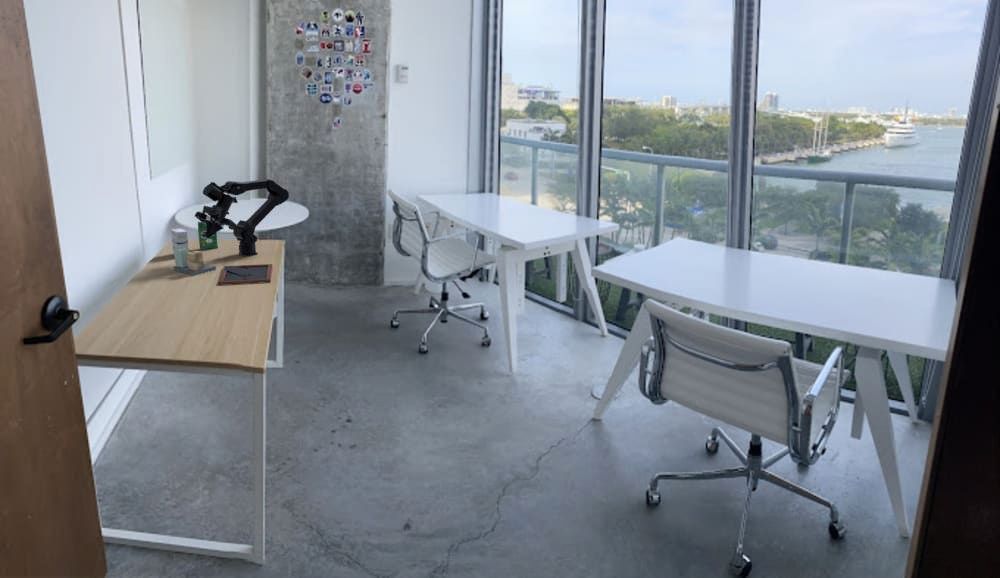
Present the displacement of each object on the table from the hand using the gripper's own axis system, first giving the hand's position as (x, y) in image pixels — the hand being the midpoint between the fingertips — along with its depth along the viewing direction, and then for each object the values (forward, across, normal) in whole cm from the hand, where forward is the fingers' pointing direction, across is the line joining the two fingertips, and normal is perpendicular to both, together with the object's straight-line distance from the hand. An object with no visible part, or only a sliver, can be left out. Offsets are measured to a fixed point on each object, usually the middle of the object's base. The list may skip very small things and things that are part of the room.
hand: (207, 237), depth 322 cm
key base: (+16, +3, -1) cm, 16 cm away
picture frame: (+12, +28, -1) cm, 31 cm away
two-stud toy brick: (+16, -2, -3) cm, 16 cm away
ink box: (+7, -20, +14) cm, 26 cm away
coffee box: (-2, -18, +26) cm, 31 cm away
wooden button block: (+16, +6, -5) cm, 18 cm away
